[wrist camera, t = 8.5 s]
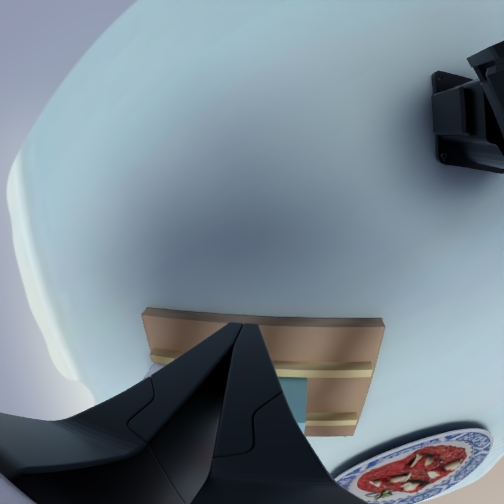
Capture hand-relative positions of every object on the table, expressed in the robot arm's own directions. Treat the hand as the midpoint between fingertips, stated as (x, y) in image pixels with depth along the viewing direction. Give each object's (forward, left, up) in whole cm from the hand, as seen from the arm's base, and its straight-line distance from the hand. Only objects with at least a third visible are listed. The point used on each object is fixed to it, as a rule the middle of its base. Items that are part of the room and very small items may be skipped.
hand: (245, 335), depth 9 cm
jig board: (+1, +14, -12) cm, 18 cm away
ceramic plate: (-20, +35, -12) cm, 42 cm away
